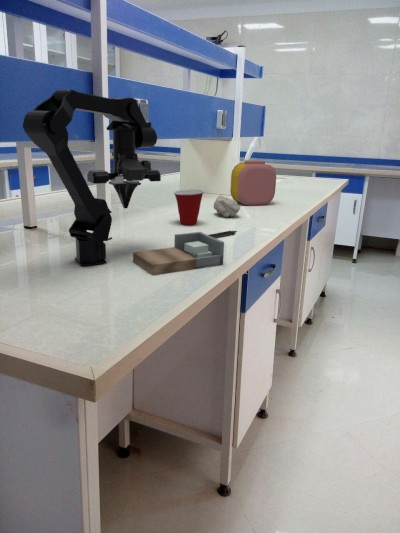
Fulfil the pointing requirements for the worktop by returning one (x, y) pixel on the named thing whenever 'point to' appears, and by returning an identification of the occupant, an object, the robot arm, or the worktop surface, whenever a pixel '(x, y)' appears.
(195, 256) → the tile
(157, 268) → the walnut ledge
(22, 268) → the worktop surface
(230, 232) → the knife
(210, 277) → the worktop surface
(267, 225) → the worktop surface
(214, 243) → the box
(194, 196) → the plastic cup
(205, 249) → the tile
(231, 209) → the fossil replica
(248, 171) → the alarm clock
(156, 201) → the worktop surface
